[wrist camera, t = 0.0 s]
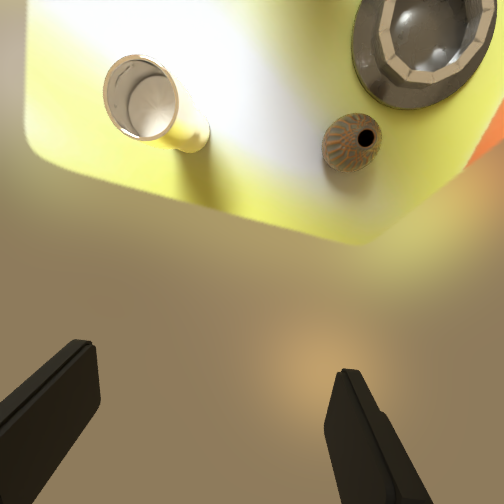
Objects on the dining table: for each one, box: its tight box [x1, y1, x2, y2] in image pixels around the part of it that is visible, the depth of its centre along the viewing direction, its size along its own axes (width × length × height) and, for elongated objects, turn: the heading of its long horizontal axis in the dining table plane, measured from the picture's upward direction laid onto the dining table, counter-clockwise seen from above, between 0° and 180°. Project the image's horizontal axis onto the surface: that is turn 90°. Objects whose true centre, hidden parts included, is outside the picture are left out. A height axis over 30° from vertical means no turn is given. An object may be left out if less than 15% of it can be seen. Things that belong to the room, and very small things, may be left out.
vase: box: [322, 113, 382, 172], centre depth 32 cm, size 7×7×9 cm
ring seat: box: [351, 0, 497, 110], centre depth 30 cm, size 17×17×3 cm
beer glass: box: [103, 55, 210, 153], centre depth 28 cm, size 7×7×15 cm
